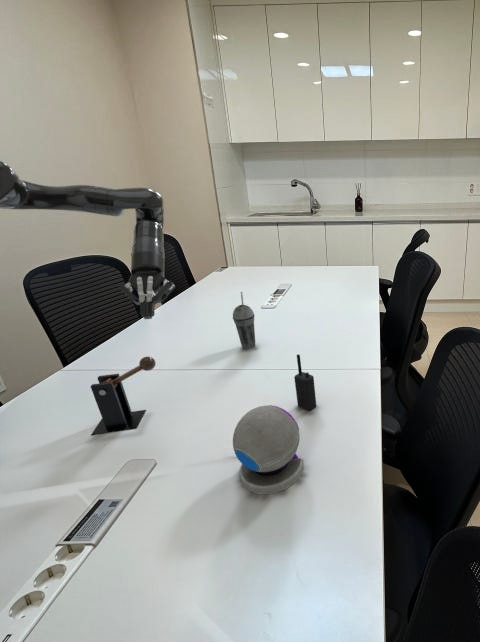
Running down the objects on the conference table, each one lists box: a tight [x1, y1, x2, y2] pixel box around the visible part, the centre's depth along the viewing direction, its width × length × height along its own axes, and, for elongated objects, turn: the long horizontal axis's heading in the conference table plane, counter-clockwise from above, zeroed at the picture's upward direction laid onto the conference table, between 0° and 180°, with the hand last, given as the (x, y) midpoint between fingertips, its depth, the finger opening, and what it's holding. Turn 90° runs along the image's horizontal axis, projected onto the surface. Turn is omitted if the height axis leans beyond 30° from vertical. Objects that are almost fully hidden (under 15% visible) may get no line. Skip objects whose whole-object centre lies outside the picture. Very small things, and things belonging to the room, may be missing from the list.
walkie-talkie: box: [294, 354, 317, 412], centre depth 100 cm, size 5×3×15 cm
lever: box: [102, 356, 157, 388], centre depth 92 cm, size 14×3×3 cm, turn 103°
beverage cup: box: [232, 291, 256, 350], centre depth 134 cm, size 7×7×20 cm
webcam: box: [232, 404, 305, 495], centre depth 78 cm, size 13×13×15 cm
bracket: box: [90, 373, 147, 436], centre depth 94 cm, size 10×8×13 cm
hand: (147, 317), depth 96 cm, fingers closed
